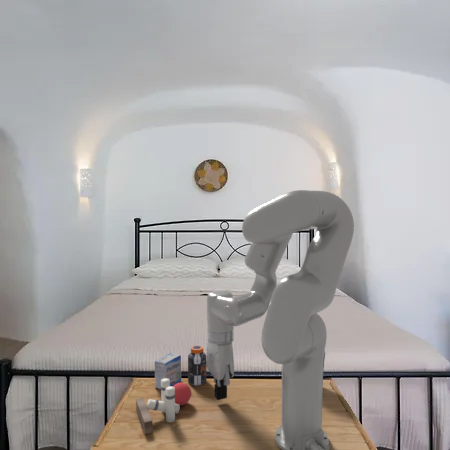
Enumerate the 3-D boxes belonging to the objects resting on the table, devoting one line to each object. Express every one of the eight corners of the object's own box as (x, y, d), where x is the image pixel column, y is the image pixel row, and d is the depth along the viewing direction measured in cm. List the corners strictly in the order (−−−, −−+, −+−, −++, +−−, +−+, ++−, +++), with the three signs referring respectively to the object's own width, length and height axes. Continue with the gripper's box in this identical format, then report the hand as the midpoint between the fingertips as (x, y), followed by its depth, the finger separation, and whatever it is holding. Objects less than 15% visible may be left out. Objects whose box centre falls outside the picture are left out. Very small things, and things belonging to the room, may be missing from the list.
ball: (166, 403, 103) (187, 405, 102) (170, 380, 106) (190, 382, 105) (170, 405, 108) (190, 407, 107) (174, 383, 111) (193, 385, 110)
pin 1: (171, 411, 103) (170, 381, 102) (162, 413, 102) (161, 383, 101) (169, 407, 105) (168, 377, 105) (160, 409, 104) (159, 379, 104)
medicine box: (165, 391, 114) (165, 363, 114) (154, 387, 116) (154, 360, 116) (181, 381, 121) (181, 354, 120) (171, 377, 123) (170, 352, 123)
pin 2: (176, 421, 98) (176, 389, 98) (167, 423, 97) (166, 391, 97) (173, 416, 101) (173, 385, 100) (164, 418, 100) (164, 387, 99)
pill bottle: (203, 386, 117) (203, 351, 116) (185, 385, 118) (185, 350, 117) (208, 378, 123) (208, 344, 122) (191, 376, 124) (190, 343, 123)
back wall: (152, 432, 94) (152, 420, 93) (144, 434, 93) (144, 422, 93) (143, 408, 105) (143, 397, 104) (136, 409, 104) (136, 399, 104)
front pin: (180, 406, 101) (151, 401, 98) (177, 415, 101) (147, 411, 98) (178, 402, 103) (149, 397, 100) (174, 410, 103) (146, 406, 100)
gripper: (199, 328, 112) (199, 388, 113) (218, 346, 98) (218, 414, 99) (222, 325, 115) (222, 383, 116) (243, 341, 101) (244, 407, 102)
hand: (220, 397), depth 107 cm, fingers closed
